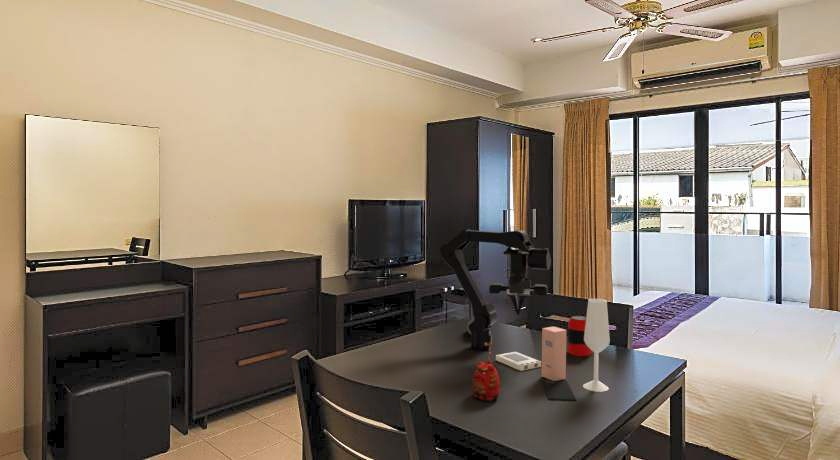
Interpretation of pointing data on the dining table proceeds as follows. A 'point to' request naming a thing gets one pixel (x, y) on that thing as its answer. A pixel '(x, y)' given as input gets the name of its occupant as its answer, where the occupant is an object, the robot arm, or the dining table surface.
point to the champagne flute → (596, 337)
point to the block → (554, 353)
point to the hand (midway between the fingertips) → (518, 314)
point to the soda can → (577, 337)
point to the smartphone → (558, 390)
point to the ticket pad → (518, 361)
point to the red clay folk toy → (486, 380)
